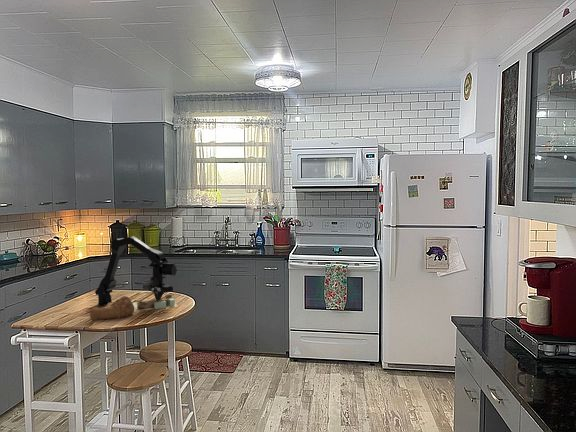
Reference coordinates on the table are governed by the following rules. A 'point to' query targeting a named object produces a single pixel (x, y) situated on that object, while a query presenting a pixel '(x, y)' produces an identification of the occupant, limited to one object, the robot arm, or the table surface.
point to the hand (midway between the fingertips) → (158, 302)
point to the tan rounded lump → (114, 310)
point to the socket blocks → (164, 303)
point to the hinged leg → (149, 303)
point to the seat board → (153, 307)
